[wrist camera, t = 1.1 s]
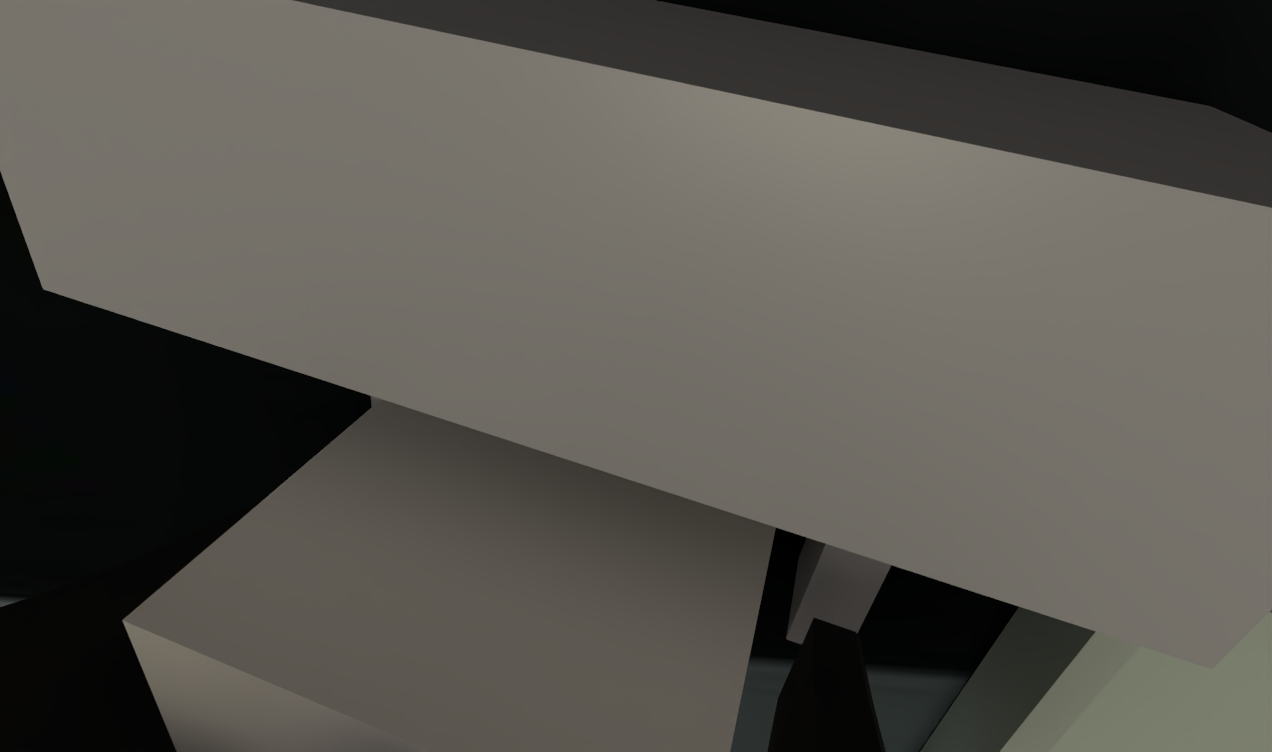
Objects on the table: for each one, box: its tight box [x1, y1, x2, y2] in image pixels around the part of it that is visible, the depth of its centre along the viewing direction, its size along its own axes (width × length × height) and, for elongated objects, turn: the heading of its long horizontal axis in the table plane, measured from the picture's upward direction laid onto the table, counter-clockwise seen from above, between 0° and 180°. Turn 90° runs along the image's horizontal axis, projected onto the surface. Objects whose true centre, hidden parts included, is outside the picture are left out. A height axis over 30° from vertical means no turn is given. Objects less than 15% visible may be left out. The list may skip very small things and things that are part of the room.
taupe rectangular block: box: [122, 399, 776, 752], centre depth 11 cm, size 8×5×8 cm, turn 172°
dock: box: [0, 0, 1272, 669], centre depth 9 cm, size 9×12×6 cm
